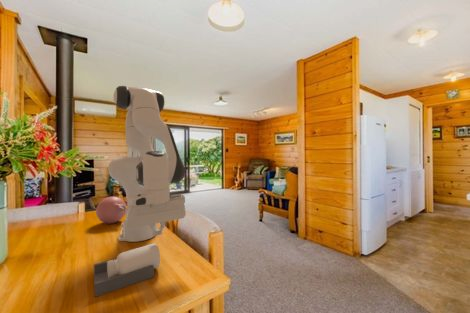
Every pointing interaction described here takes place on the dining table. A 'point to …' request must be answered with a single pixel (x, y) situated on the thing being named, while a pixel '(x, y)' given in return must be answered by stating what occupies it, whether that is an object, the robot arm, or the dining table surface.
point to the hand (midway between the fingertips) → (157, 234)
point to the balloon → (111, 209)
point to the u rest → (118, 278)
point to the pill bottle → (134, 260)
